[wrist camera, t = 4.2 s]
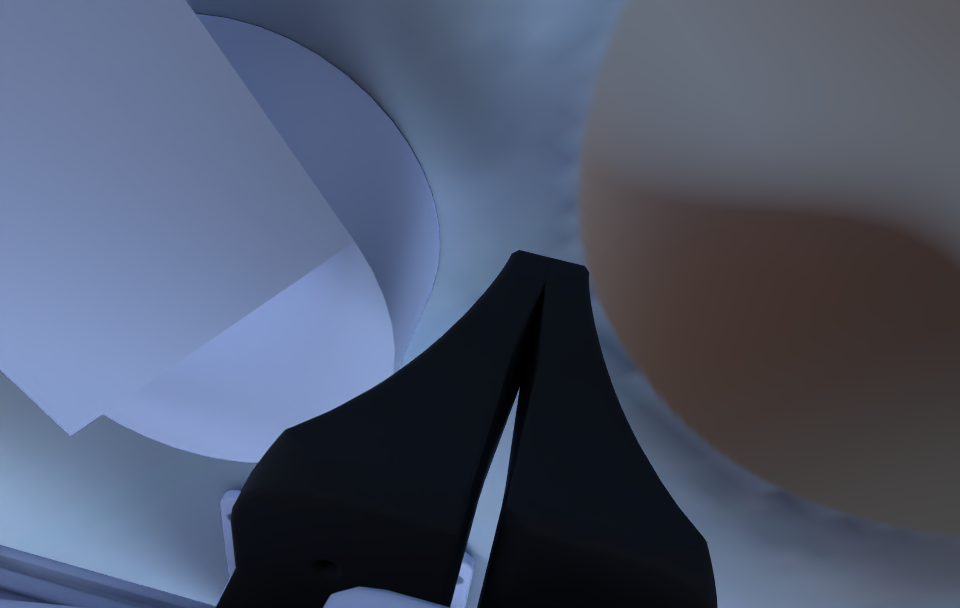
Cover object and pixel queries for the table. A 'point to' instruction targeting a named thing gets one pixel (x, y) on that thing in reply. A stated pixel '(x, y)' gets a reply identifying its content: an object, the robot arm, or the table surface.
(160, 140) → the wedge on round base
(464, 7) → the table surface
